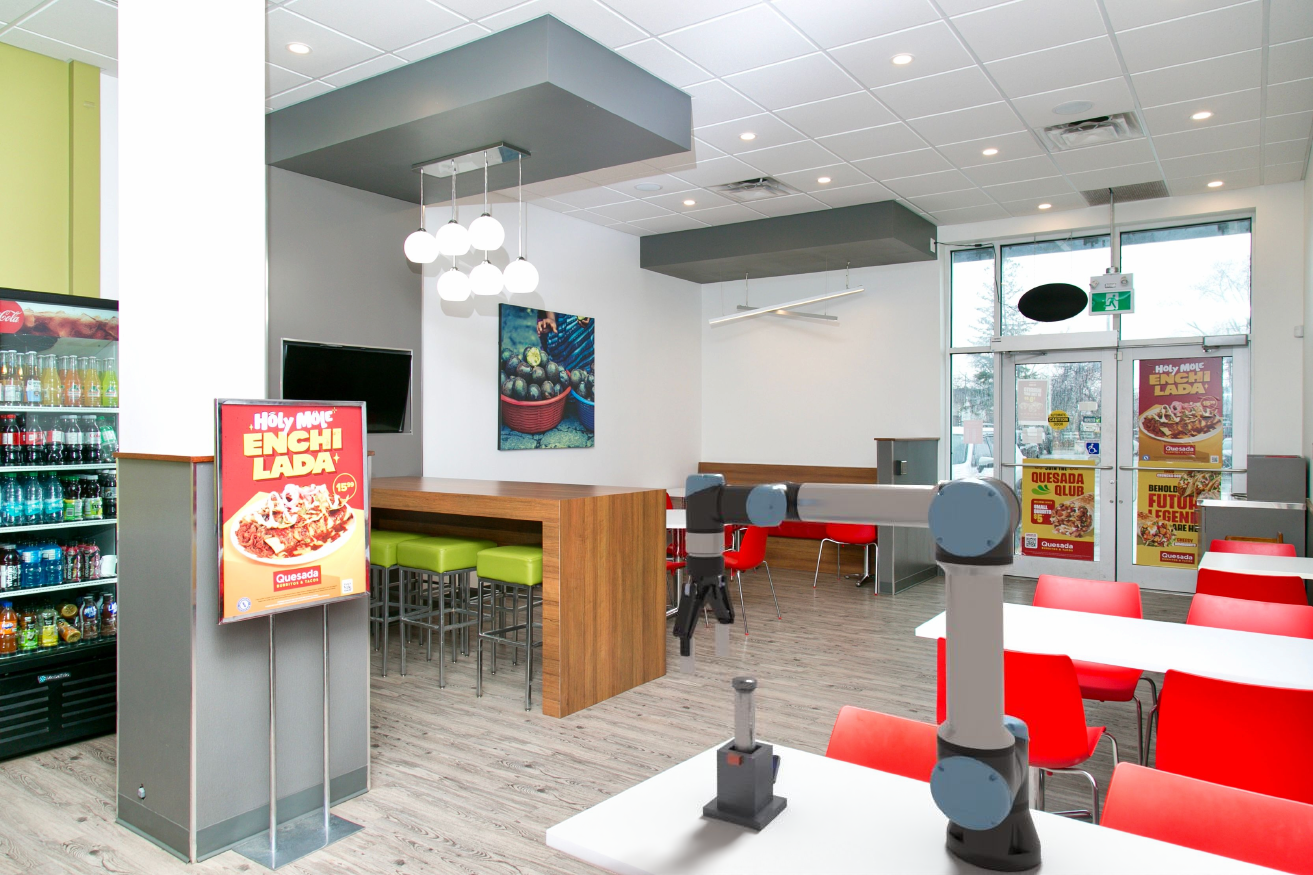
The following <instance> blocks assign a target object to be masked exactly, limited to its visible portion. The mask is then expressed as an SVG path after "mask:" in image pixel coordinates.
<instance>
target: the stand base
mask: <svg viewBox="0 0 1313 875" xmlns="http://www.w3.org/2000/svg"><path fill="white" fill-rule="evenodd" d="M755 750H756V751H755V752H754V753H753V754H746V753H742V752H737V751H735V737H734V738H733V739H731V740H730V741H728V742H727V743H725V744H724V745H723V746H721V747H720V748H718V749H716V796H715V797H714V798H712V799H711V800H710V801H709V802H707V803H706V804H705V805H703V806H702V816H705V817H709V818H711V819H717V820H719V821H723V822H726V823H727V822H728V823H731V824H734V825H738V826H742V827H745V828H749V829H753V830H756V831H760V832H761V831H762V830H763V829H764V828H765V827H766V826H767V825H769V824H770V822H772V821H773V820H774V819H775V818H776V817H777V816H778V815H779V814H780V813H781V812H782V811H783V810H784V809H786V808H787V807H788V798H787V797H783V796H778V795H776V794H774V784H773V755H774V745H772V744H768V743H764V742H758V741H755Z"/></svg>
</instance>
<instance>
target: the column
mask: <svg viewBox="0 0 1313 875" xmlns="http://www.w3.org/2000/svg"><path fill="white" fill-rule="evenodd" d="M731 682H732V683H731V687H732V688H733V692H734V693H733V694H734V697H733V698H734V699H733V700H734V702H733V704H734V708H733V709H734V715H733V716H734V718H733V720H734V726H733V727H734V728H733V729H734V738H735V751H737V752H742V753H746V754H753V753H754V752H755V751H756V750H755V742H756V688H758V679H757V678H756V677H752V676H746V675H745V676H741V675H740V676H735V677H733V678H732V679H731Z"/></svg>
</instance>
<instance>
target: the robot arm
mask: <svg viewBox="0 0 1313 875" xmlns="http://www.w3.org/2000/svg"><path fill="white" fill-rule="evenodd" d="M684 492H685V494H684V500H685V503H684V504H685V506H684V507H685V537H684V540H685V552H686V553H687V555H686V556H685V573H686V574H687V575H688V576H690V577H691V580H690V583H686V582H683V583H682V584H681V594H680V595H681V596H680V600H679V604H678V606H677V607H678V608H677V612H676V616H675V621H674V625H673V629H672V636H674V638H678V639H679V656H680V657H679V658H680V659H679V660H680V661H679V662H680V668H679V672H680V673H682V674H688V675H695V674H696V665H695V664H696V641H695V640H696V638H695V637H693V636H694V632H695V629H696V627H697V625H698V622H699V618H700V616H701V613H702V611H703V609H705V607H706V606H707V605H708V604H709V606H710V608H711V610H712V612H713V614H714V617H715V618H716V620H717V622H716V623H715V627H714V629H715V630H714V633H715V636H714V638H715V640H714V644H715V647H714V648H715V649H714V651H715V652H714V654H715V657H718V658H725V659H729V658H730V625H731V624H732V625H734V624H735V617H736V612H735V609H734V606H733V600H732V597H731V593H730V590H729V586H728V585H729V584H728V576H727V575H726V574H725V571H726V570H725V569H726V568H725V566H726V564H725V560H726V559H725V556H724V555H723V554H724V552H726V549H725V546H726V545H725V540H726V539H725V525H741V526H756V527H760V528H764V527H777V526H780V525H781V524H782V521H785V522H786V521H787V522H790V521H791V522H814V523H829V524H830V523H833V524H854V525H871V526H872V525H873V526H889V527H890V526H891V527H908V528H909V527H910V528H925V529H926V528H927V529H929V531H930V533H931V535H932V537H933V539H934V551H935V552H934V553H935V554H934V555H935V558H934V559H935V560H934V561H935V563H937V565H939V566H940V568H941V569H943V572H944V573H945V574H944V575H945V665H946V666H945V672H946V673H945V678H946V684H945V685H946V688H945V690H946V694H945V695H946V701H945V702H946V703H945V704H946V719H945V720H944V721H943V722H942V723H941V724H940V725H938V726H937V729H936V763H935V765H934V766H933V769H932V771H931V774H930V780H929V787H930V794H931V798H932V799H933V802H934V804H935V805H936V807H937V808H938V809H939V810H940V811H941V812H942V814H943V815H945V817H946V818H947V819H948V823H947V826H946V835H945V836H946V839H945V840H946V841H945V842H946V846H947V848H948V849H949V850H950V851H951V853H953V854H954V855H955V856H956V857H959V859H962V860H964V861H965V862H967V863H970V864H972V865H975V866H979V867H982V868H985V869H990V870H995V871H1005V872H1014V871H1015V872H1018V871H1019V872H1020V871H1025V870H1029V869H1032V868H1034V867H1036V866H1038V865H1039V864H1040V862H1041V859H1042V845H1041V840H1040V838H1039V835H1038V832H1037V828H1036V826H1035V823H1034V820H1033V818H1032V814H1031V812H1030V782H1029V781H1030V776H1029V775H1030V770H1029V768H1030V766H1029V764H1030V763H1029V757H1030V756H1029V753H1030V752H1029V742H1030V741H1031V739H1030V737H1029V728H1028V725H1027V723H1026V722H1024V721H1023V720H1022V719H1020V718H1017V717H1015V716H1011V715H1007V714H1005V660H1004V657H1005V656H1004V654H1005V653H1004V646H1005V644H1004V574H1005V573H1007V571H1009V569H1010V568H1011V567H1013V566H1014V533H1015V532H1016V531H1017V529H1018V527H1019V525H1020V523H1021V521H1022V514H1023V511H1022V510H1023V509H1022V504H1021V500H1020V498H1019V496H1018V495H1017V493H1016V492H1015V490H1014V488H1012V487H1011V486H1010V485H1009V484H1008V483H1006V482H1005V481H1003V480H1001V479H999V478H997V477H993V476H986V475H982V476H980V475H979V476H974V477H972V476H971V477H962V478H961V477H960V478H957V479H953V480H946V479H945V480H943V479H941V480H939V481H938V483H936V484H935V485H919V484H917V485H914V484H910V485H909V484H874V483H873V484H872V483H871V484H870V483H868V484H867V483H866V484H864V483H826V482H824V483H820V482H817V483H816V482H804V483H803V482H802V483H801V482H791V481H778V482H773V483H759V484H727V483H726V481H725V477H724V475H723V474H721V473H691V474H689V475H688V476H687V477H686V479H685V491H684Z"/></svg>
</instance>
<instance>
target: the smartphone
mask: <svg viewBox="0 0 1313 875" xmlns="http://www.w3.org/2000/svg"><path fill="white" fill-rule="evenodd" d="M780 765H781V756H780V755H778V754H773V785H774V784H775V783H776V781H777V777H778V771H779V768H780Z"/></svg>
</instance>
